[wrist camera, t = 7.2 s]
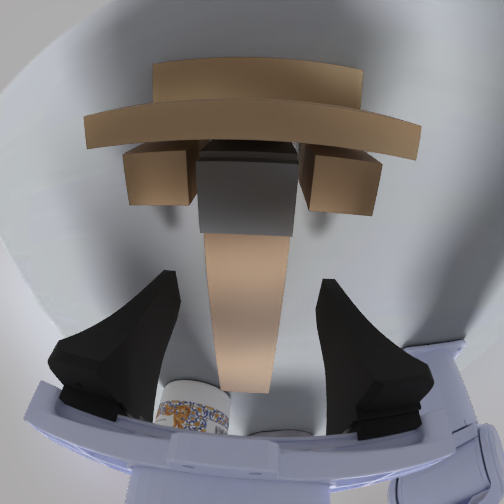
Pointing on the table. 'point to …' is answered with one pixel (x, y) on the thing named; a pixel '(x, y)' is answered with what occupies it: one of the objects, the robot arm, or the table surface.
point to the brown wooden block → (246, 251)
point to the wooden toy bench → (255, 128)
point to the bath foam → (194, 407)
